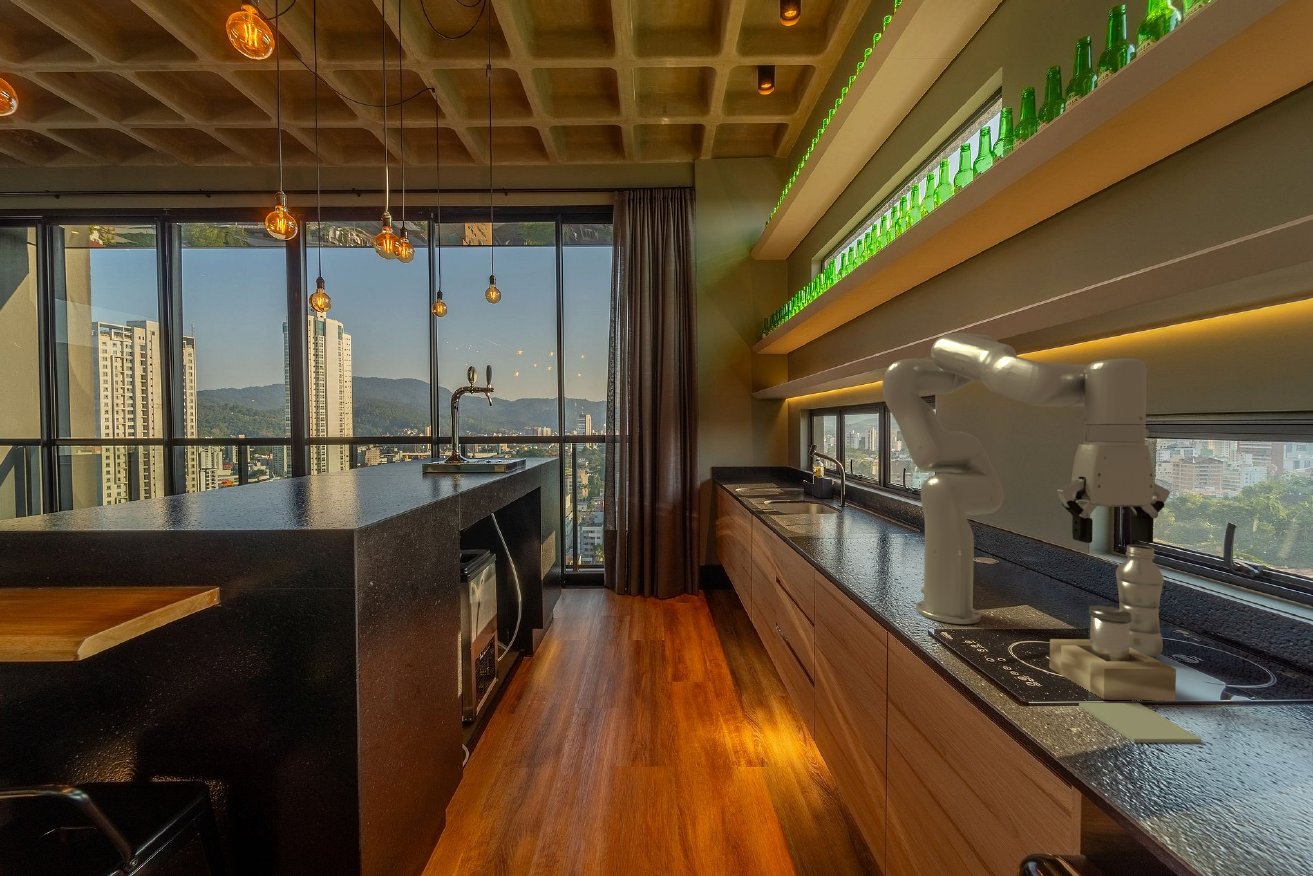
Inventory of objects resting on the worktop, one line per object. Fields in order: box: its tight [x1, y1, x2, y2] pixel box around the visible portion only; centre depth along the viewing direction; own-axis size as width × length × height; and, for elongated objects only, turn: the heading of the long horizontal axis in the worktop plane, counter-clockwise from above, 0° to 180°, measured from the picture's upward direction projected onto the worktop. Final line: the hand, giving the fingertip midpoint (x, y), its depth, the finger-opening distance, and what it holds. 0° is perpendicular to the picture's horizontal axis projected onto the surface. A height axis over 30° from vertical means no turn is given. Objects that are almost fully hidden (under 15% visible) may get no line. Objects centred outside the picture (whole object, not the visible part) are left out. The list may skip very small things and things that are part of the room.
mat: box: [1078, 702, 1202, 744], centre depth 74 cm, size 9×9×1 cm
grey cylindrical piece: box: [1088, 605, 1132, 662], centre depth 85 cm, size 5×5×12 cm
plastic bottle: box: [1115, 544, 1164, 658], centre depth 96 cm, size 6×7×20 cm
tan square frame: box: [1048, 638, 1177, 702], centre depth 85 cm, size 11×11×5 cm
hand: (1112, 541), depth 85 cm, fingers open, 9 cm apart
